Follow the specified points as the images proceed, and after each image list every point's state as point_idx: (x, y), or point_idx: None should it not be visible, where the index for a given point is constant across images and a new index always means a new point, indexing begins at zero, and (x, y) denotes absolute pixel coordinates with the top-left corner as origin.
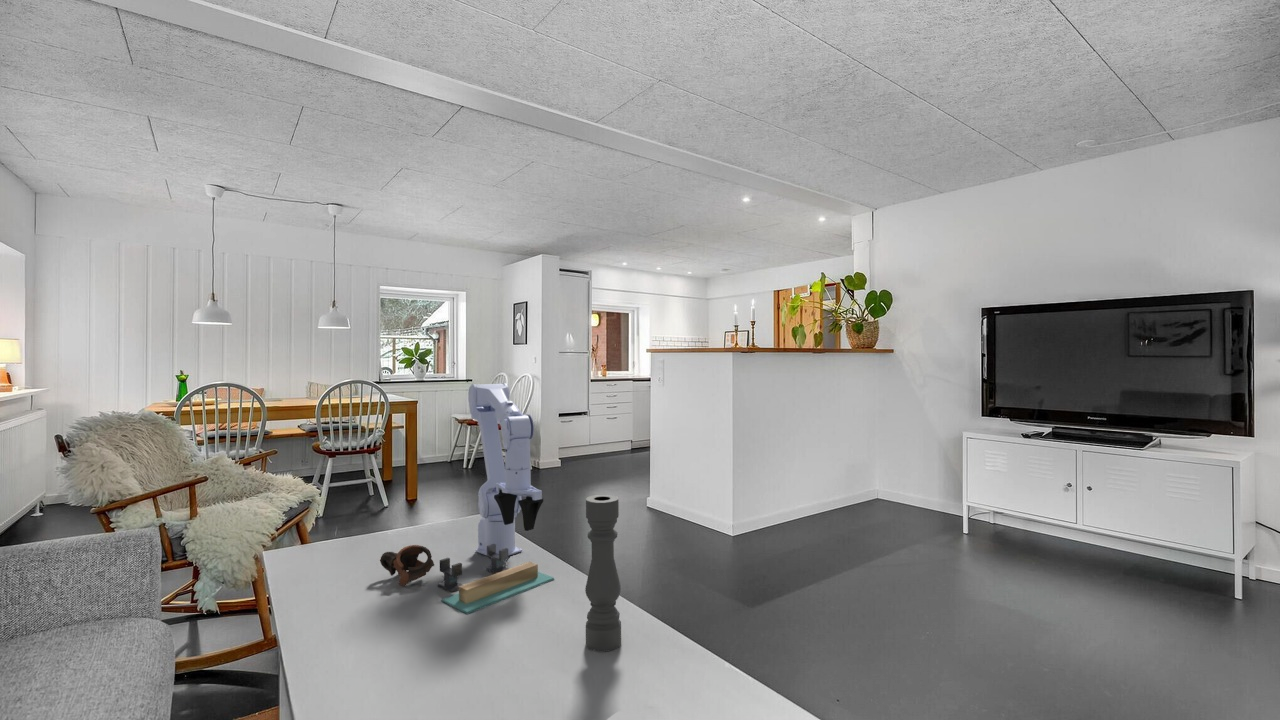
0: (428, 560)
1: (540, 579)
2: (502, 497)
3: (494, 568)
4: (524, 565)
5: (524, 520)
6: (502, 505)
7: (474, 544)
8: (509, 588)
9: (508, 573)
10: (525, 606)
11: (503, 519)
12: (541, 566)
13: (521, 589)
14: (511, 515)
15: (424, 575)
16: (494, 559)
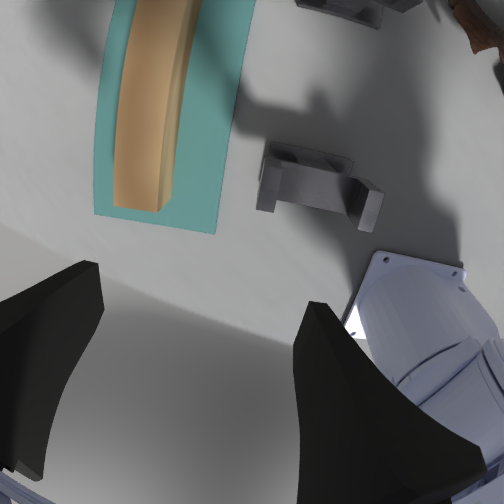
0: (478, 11)
1: (112, 181)
2: (369, 500)
3: (309, 159)
4: (142, 171)
5: (43, 289)
6: (354, 415)
7: (482, 304)
8: None
9: (133, 77)
10: (46, 47)
11: (334, 322)
12: (202, 272)
13: (104, 92)
14: (302, 379)
15: (448, 2)
16: (314, 166)
